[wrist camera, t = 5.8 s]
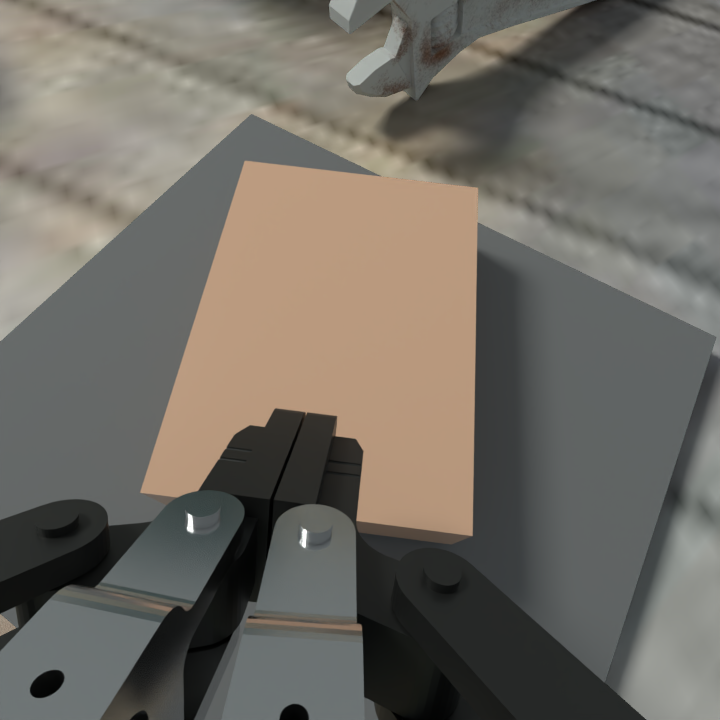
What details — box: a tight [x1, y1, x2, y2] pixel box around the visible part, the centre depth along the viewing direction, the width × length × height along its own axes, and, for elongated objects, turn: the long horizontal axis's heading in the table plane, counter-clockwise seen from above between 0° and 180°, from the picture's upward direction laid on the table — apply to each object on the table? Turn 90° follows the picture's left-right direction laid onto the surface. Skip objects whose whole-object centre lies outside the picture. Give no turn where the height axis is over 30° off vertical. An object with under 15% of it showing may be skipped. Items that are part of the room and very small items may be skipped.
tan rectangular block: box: [140, 161, 478, 545], centre depth 19 cm, size 3×10×14 cm
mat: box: [0, 114, 716, 720], centre depth 20 cm, size 26×24×1 cm
